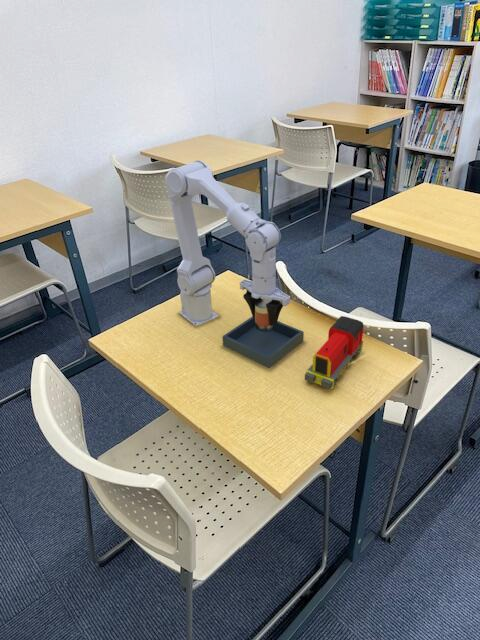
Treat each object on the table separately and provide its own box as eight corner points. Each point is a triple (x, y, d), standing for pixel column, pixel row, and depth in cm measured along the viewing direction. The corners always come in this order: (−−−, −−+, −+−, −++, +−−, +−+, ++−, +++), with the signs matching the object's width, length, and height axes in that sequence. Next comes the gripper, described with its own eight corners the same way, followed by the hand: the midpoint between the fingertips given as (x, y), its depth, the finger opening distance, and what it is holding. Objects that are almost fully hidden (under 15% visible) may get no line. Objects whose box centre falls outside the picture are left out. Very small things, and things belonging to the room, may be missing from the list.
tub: (223, 347, 128) (222, 336, 126) (258, 323, 137) (257, 312, 135) (269, 370, 119) (269, 358, 117) (303, 342, 128) (303, 331, 126)
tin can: (251, 325, 125) (250, 302, 122) (266, 318, 128) (266, 296, 124) (263, 334, 122) (263, 310, 118) (278, 326, 124) (278, 303, 121)
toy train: (362, 352, 123) (366, 319, 118) (330, 396, 110) (332, 361, 105) (337, 344, 127) (340, 312, 121) (303, 386, 113) (304, 351, 108)
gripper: (230, 271, 118) (233, 317, 126) (277, 288, 110) (277, 337, 117) (249, 260, 123) (250, 306, 130) (295, 276, 114) (294, 324, 122)
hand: (264, 320), depth 124 cm, fingers closed on tin can, 5 cm apart
